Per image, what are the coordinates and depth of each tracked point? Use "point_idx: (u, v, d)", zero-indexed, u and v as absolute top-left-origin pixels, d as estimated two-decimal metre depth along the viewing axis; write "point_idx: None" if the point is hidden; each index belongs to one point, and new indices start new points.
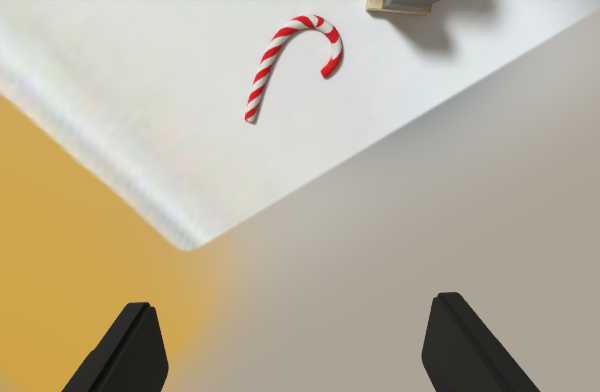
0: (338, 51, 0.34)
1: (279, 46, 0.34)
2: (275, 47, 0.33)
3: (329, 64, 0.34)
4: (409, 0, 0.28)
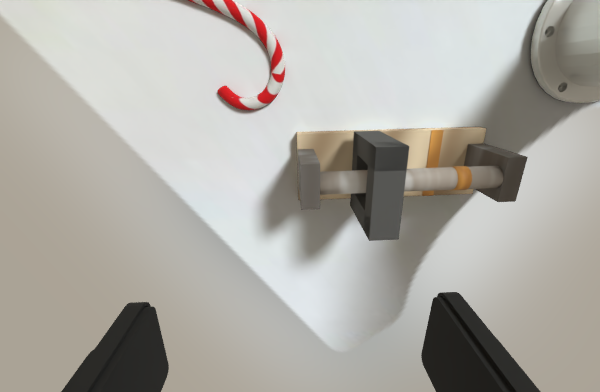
0: (249, 105, 0.28)
1: (243, 22, 0.25)
2: (241, 16, 0.25)
3: (233, 95, 0.27)
4: None
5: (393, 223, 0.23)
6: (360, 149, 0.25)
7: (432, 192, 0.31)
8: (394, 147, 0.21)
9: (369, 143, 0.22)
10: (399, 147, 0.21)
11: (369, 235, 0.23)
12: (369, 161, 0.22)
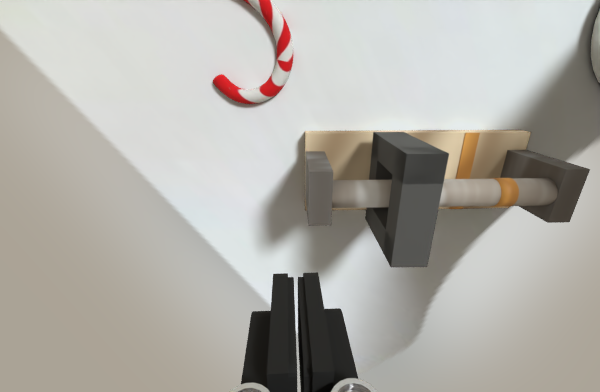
0: (249, 97, 0.23)
1: None
2: None
3: (231, 86, 0.23)
4: None
5: (422, 247, 0.19)
6: (382, 154, 0.21)
7: (461, 205, 0.27)
8: (429, 154, 0.16)
9: (396, 148, 0.18)
10: (436, 154, 0.16)
11: (391, 261, 0.19)
12: (395, 170, 0.18)
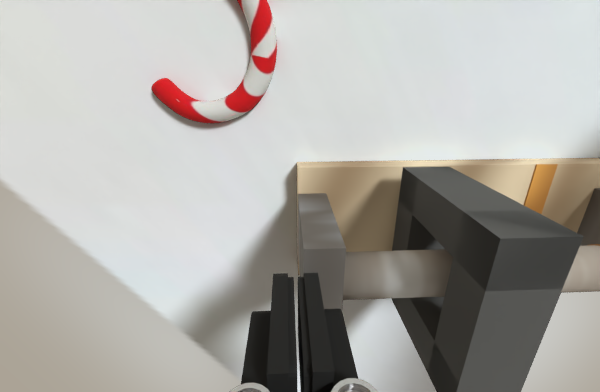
0: (210, 114, 0.15)
1: None
2: None
3: (180, 97, 0.15)
4: (301, 257, 0.13)
5: (507, 387, 0.10)
6: (424, 210, 0.12)
7: None
8: (545, 239, 0.08)
9: (463, 214, 0.10)
10: (558, 239, 0.08)
11: None
12: (462, 253, 0.10)
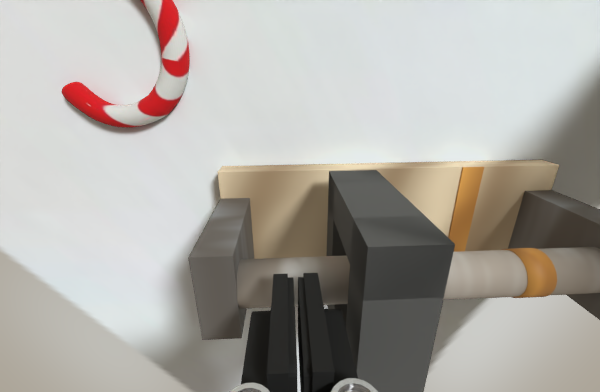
0: (123, 118, 0.15)
1: None
2: None
3: (91, 101, 0.14)
4: None
5: None
6: (338, 215, 0.12)
7: None
8: (415, 247, 0.08)
9: (353, 220, 0.09)
10: (429, 247, 0.08)
11: None
12: (353, 261, 0.10)
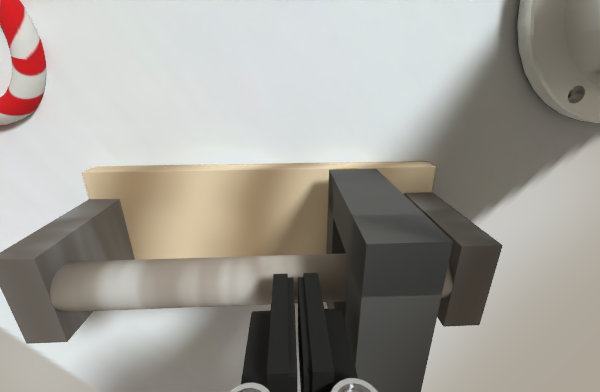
0: None
1: None
2: None
3: None
4: None
5: None
6: (337, 213, 0.12)
7: None
8: (414, 244, 0.08)
9: (352, 218, 0.10)
10: (427, 244, 0.08)
11: None
12: (352, 258, 0.10)
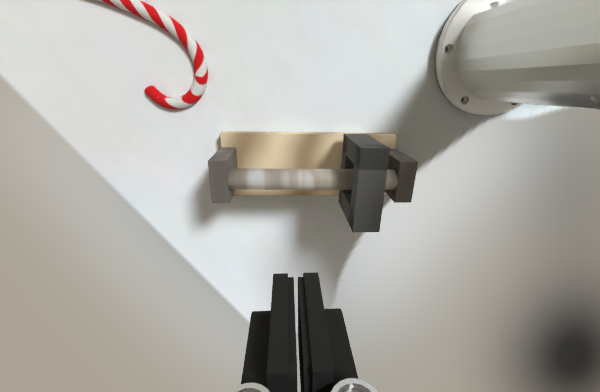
0: (174, 104, 0.30)
1: (165, 28, 0.27)
2: (162, 22, 0.27)
3: (159, 95, 0.29)
4: None
5: (374, 216, 0.26)
6: (348, 150, 0.28)
7: None
8: (376, 149, 0.23)
9: (355, 144, 0.25)
10: (381, 149, 0.23)
11: (353, 227, 0.26)
12: (355, 160, 0.25)
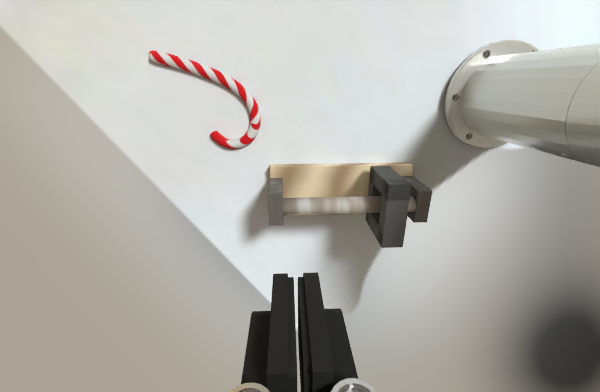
0: (233, 145, 0.37)
1: (229, 88, 0.35)
2: (227, 84, 0.34)
3: (221, 138, 0.37)
4: None
5: (399, 235, 0.33)
6: (376, 181, 0.35)
7: None
8: (401, 185, 0.30)
9: (383, 180, 0.32)
10: (404, 185, 0.30)
11: (382, 243, 0.33)
12: (383, 192, 0.32)
